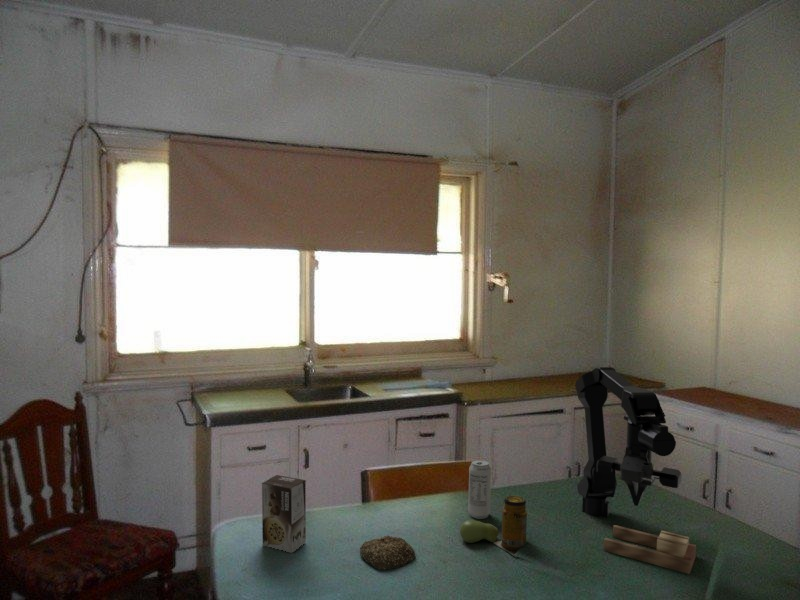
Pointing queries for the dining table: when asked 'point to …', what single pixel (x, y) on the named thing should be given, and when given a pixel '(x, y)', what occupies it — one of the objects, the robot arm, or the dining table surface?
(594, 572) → the dining table surface
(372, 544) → the bread roll
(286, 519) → the coffee box
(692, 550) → the bay
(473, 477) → the energy drink can
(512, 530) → the condiment
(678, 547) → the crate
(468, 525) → the pear
